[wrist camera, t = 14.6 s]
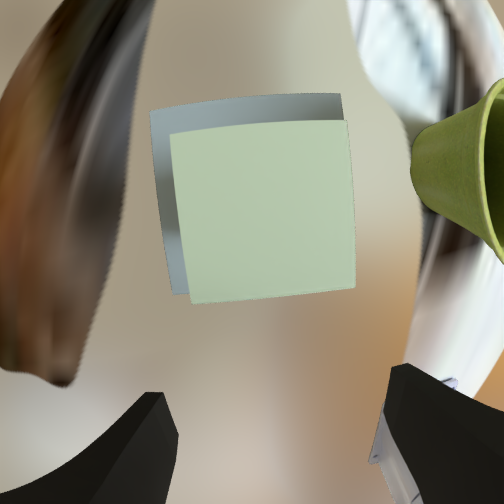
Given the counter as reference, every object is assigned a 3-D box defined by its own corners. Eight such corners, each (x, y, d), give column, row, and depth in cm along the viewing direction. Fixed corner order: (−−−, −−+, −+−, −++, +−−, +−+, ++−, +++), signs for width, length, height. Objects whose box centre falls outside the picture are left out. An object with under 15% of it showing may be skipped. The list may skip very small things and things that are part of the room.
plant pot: (500, 184, 17) (583, 198, 9) (432, 264, 18) (515, 312, 10) (442, 80, 15) (525, 50, 7) (358, 154, 17) (443, 140, 8)
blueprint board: (350, 273, 18) (353, 277, 18) (174, 291, 18) (172, 295, 18) (337, 95, 16) (340, 93, 15) (152, 113, 16) (148, 110, 15)
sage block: (313, 244, 12) (355, 287, 7) (213, 254, 12) (192, 304, 7) (305, 143, 11) (346, 120, 6) (201, 152, 11) (169, 134, 6)
